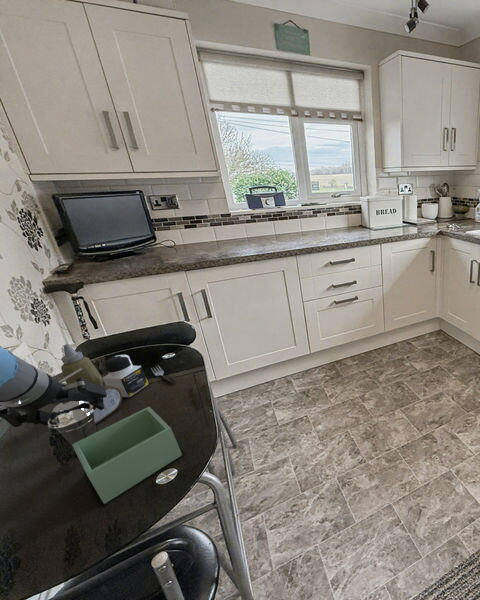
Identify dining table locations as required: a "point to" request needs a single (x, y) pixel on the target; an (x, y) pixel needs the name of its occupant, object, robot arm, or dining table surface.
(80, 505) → the dining table surface
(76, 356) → the squeeze bottle
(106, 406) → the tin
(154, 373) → the fork
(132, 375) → the medicine bottle
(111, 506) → the dining table surface
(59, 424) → the cup with straw
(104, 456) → the bin
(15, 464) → the dining table surface
